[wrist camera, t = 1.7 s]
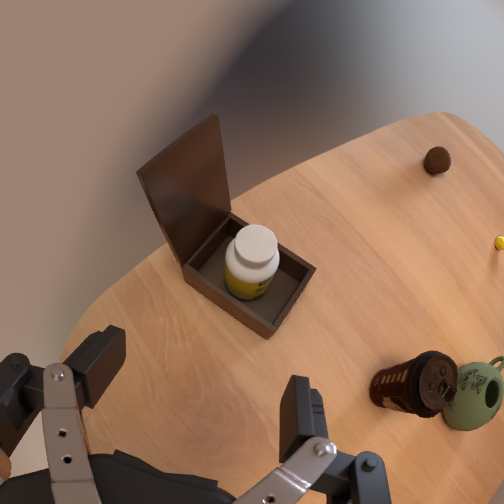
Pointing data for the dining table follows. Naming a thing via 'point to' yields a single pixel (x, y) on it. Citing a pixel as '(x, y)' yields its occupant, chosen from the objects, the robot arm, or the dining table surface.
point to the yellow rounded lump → (499, 243)
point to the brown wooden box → (247, 312)
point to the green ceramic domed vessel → (476, 395)
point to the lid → (188, 187)
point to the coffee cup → (417, 385)
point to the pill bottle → (251, 262)
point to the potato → (437, 160)
